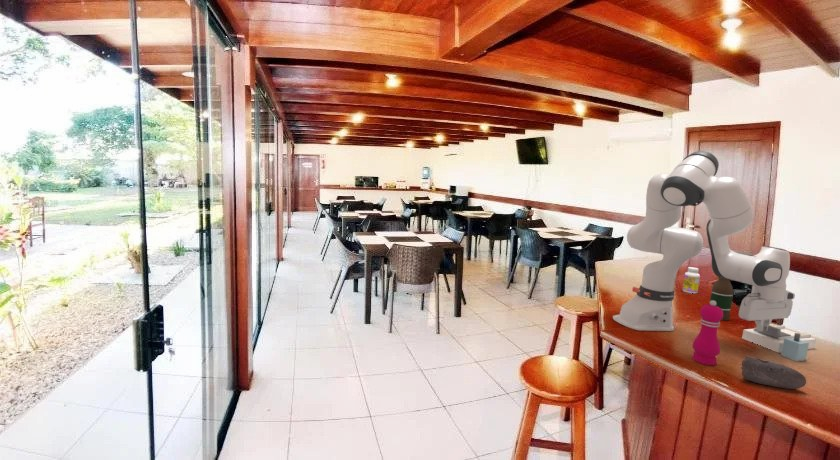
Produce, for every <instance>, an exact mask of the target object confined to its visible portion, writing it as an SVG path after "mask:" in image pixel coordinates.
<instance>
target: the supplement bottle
mask: <svg viewBox="0 0 840 460" xmlns="http://www.w3.org/2000/svg"><path fill="white" fill-rule="evenodd" d="M699 270H700V269H699V268H697V267H692V266H688V267H687V271H686V272H685V273H684V278H683V283H682V291H683V292H684V293H687V294H692V293H693V294H698V293H699V292H698V291H699V284H700V279H701V275H700V274H699Z"/></svg>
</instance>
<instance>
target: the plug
mask: <svg viewBox="0 0 840 460" xmlns="http://www.w3.org/2000/svg"><path fill="white" fill-rule="evenodd" d="M801 334H802V333H798V332H796V333H795V335H794V338H784V343H783V348H782V352H781V357H784V358H787V359H790V360H793V361H795V362H801V361H806V359H807V355H808V350H809V349H808V345H809V343H808V342H805V341H802V340H800V335H801Z"/></svg>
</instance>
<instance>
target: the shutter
mask: <svg viewBox="0 0 840 460" xmlns="http://www.w3.org/2000/svg"><path fill="white" fill-rule="evenodd" d="M756 331H758V330H756ZM758 332H760V333H763V334H766V335H769V336H771V337H774V338H778V337H784V336H791V335H790V334H787V333H784V332H781V329H778V328H775V327H773V326H771V325H769V326H768V329H767V331H758Z"/></svg>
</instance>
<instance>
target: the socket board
mask: <svg viewBox="0 0 840 460" xmlns="http://www.w3.org/2000/svg"><path fill="white" fill-rule="evenodd" d="M772 327H775V328H778V329H781V332H784V333H787V334H790V335H791V336H784V337H778V338H774V337H771V336H769V335H766V334H763V333H760V332H758V331H756V327H754V328H747V329H743V331H742V335H741V336H742V337H741V339H742V340H745V341H748V342H750V343H752V342H753V343H752V344H755V345H757V344H758V345H757V346H760V345H761V346H760V347H762V346H764V347H763V348H765V347H766V348H765V349H767V348H768V350H770V349H771V351H772V352H775V353H782V348H783V343H784V338H794V335H795V333H797V332H796V331H792V330H789V329H786V326H785V325H777V326H776V325H775V326H772ZM800 334H801V335H800V340H802V341H805V342H808V343H809V345H808V350H813V349H815V346H816V342H817V341H816V340H817V339H816V338H814V337H811V336H812V334H810V333H807V334H802V333H800Z"/></svg>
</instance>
